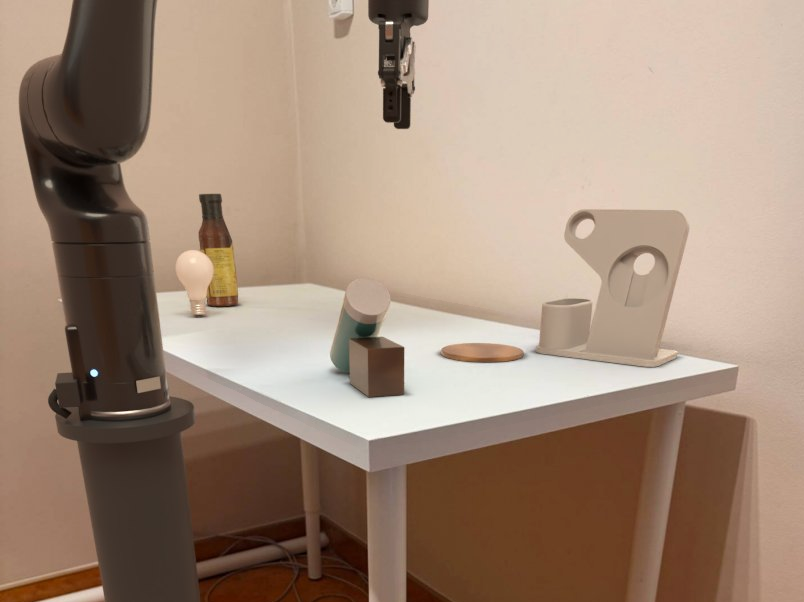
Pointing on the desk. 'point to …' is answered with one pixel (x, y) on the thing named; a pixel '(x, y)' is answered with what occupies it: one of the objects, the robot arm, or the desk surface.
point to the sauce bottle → (218, 252)
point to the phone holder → (619, 289)
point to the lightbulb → (195, 278)
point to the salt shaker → (359, 317)
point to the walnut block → (376, 366)
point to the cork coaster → (482, 352)
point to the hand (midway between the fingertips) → (397, 125)
